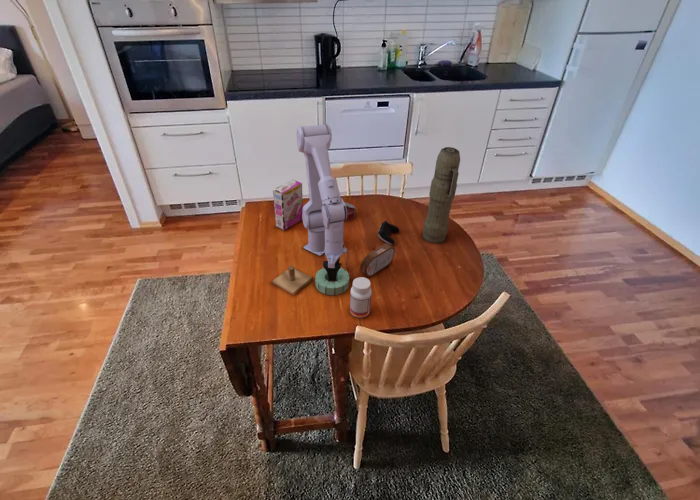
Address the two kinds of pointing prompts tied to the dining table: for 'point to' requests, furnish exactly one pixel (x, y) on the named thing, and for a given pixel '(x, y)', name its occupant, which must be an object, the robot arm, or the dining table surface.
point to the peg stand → (292, 280)
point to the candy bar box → (288, 204)
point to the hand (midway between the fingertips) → (333, 271)
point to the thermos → (441, 195)
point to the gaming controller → (387, 232)
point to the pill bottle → (360, 297)
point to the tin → (377, 260)
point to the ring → (335, 286)
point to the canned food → (350, 211)
